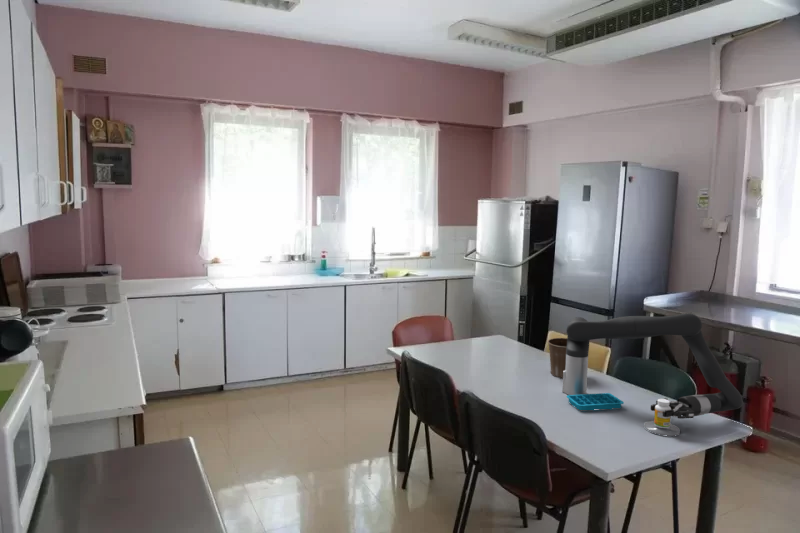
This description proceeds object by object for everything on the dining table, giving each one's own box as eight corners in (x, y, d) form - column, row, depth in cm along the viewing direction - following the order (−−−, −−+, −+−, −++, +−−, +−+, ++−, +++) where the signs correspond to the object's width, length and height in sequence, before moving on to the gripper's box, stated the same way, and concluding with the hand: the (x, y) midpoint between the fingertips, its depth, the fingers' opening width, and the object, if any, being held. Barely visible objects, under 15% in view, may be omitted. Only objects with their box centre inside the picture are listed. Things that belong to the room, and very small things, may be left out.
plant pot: (574, 382, 252) (575, 348, 250) (540, 375, 261) (542, 342, 259) (585, 373, 264) (587, 341, 262) (553, 367, 274) (555, 336, 272)
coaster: (639, 429, 201) (639, 427, 201) (650, 420, 210) (650, 418, 210) (674, 439, 193) (674, 437, 193) (684, 429, 202) (684, 427, 202)
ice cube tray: (624, 410, 220) (625, 403, 220) (578, 413, 217) (578, 405, 217) (609, 399, 232) (609, 392, 231) (564, 402, 228) (565, 395, 228)
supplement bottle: (656, 421, 205) (657, 396, 204) (671, 425, 202) (673, 400, 200) (652, 426, 201) (653, 400, 200) (668, 430, 197) (669, 404, 196)
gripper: (679, 389, 211) (643, 394, 206) (710, 403, 197) (673, 408, 192) (678, 408, 212) (642, 413, 207) (709, 422, 198) (671, 428, 193)
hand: (657, 411), depth 200 cm, fingers closed on supplement bottle, 5 cm apart
